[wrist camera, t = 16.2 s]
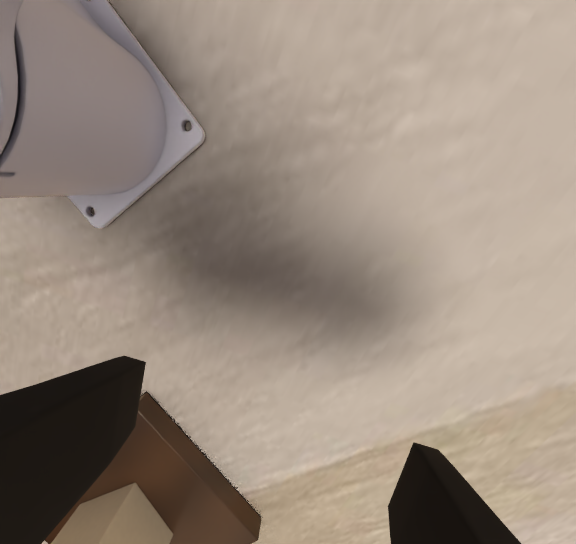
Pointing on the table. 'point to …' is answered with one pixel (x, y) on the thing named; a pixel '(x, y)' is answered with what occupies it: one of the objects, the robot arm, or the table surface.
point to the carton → (116, 521)
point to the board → (175, 484)
